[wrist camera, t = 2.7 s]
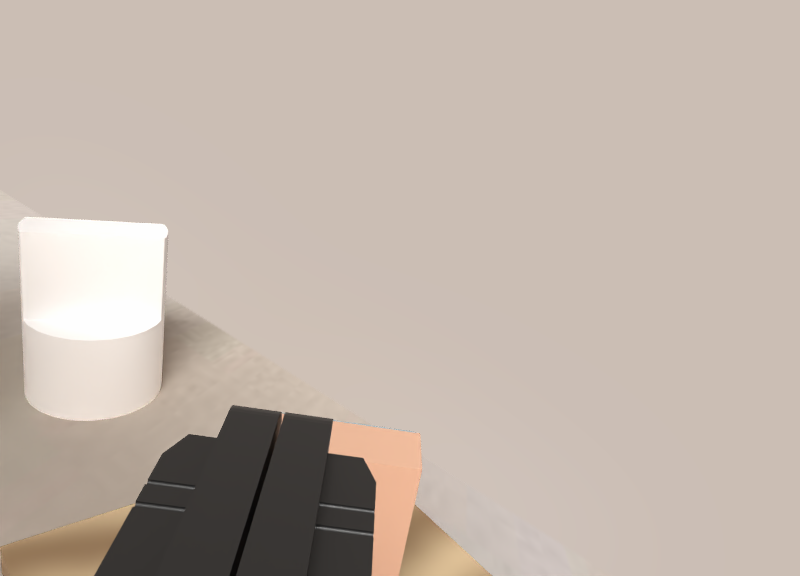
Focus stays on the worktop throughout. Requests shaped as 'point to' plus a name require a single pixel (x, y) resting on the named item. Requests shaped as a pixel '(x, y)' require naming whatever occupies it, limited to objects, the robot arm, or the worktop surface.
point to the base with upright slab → (92, 315)
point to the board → (91, 538)
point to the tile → (385, 484)
